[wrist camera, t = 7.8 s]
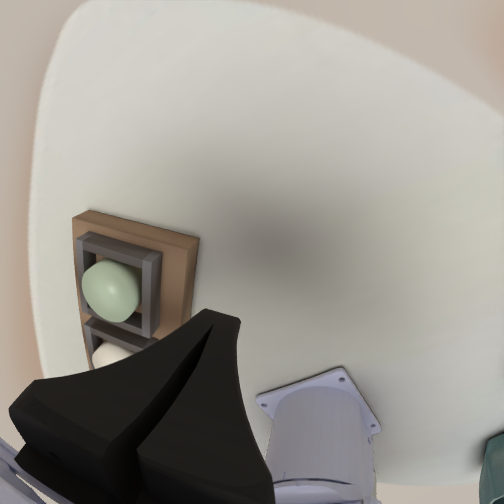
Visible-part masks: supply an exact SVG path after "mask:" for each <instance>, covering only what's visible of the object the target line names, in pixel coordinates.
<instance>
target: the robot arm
mask: <svg viewBox="0 0 504 504" xmlns="http://www.w3.org/2000/svg"><path fill="white" fill-rule="evenodd" d="M240 324H241V321H240V319H239V318H237V317H233V316H230V315H226V314H223V313H219V312H216V311H213V310H209V309H206V308H205V309H203V310H201V311H200V312H199V313H198V314H196V315H195V316H194V317H192V318H191V319H190V320H188V321H187V322H186V323H184V324H183V325H182V326H180V327H179V328H177V329H176V330H174V331H173V332H171V333H170V334H168V335H167V336H165V337H164V338H162V339H160V340H159V341H157V342H155V343H154V344H152V345H150V346H148V347H147V348H145V349H143V350H141V351H139V352H137V353H135V354H133V355H131V356H129V357H126V358H124V359H122V360H119V361H117V362H114V363H111V364H109V365H106V366H103V367H100V368H97V369H93V370H90V371H86V372H82V373H78V374H73V375H68V376H63V377H55V378H48V379H39V380H34V381H33V382H32V383H31V384H30V385H29V386H28V387H27V388H26V389H25V390H24V391H23V392H22V393H21V394H20V396H19V397H18V398H17V399H16V400H15V401H14V402H13V404H12V405H11V406H10V407H9V415H10V418H11V420H12V422H13V423H14V425H15V427H16V428H17V430H18V432H19V433H20V435H21V436H22V438H23V439H24V441H25V442H26V444H25V445H24V446H23V448H22V449H21V450H20V452H18V451H17V450H15V449H14V448H13V447H12V446H10V445H9V444H8V443H6V442H5V441H4V440H3V439H1V438H0V504H46V503H45V502H44V501H43V500H42V499H41V498H40V497H39V496H38V495H37V494H36V493H35V492H34V490H33V489H32V488H30V487H29V486H28V485H27V484H25V483H24V482H23V481H22V480H21V479H19V478H18V477H17V476H16V474H17V475H19V476H20V477H21V478H22V479H24V480H25V481H26V482H28V483H29V484H31V485H32V486H33V487H35V488H36V489H38V490H39V491H40V492H42V493H43V494H45V495H47V496H48V497H50V498H51V499H53V500H54V501H56V502H57V503H59V504H381V502H380V501H378V500H377V499H375V496H371V494H372V491H373V488H374V464H373V444H372V435H374V434H377V433H380V432H381V430H382V428H381V425H380V424H379V422H378V421H377V419H376V417H375V416H374V414H373V413H372V411H371V410H370V408H369V407H368V405H367V403H366V402H365V400H364V399H363V397H362V396H361V394H360V393H359V391H358V389H357V388H356V386H355V385H354V383H353V382H352V380H351V379H350V377H349V375H348V374H347V372H346V371H345V370H344V369H343V368H337V369H334V370H331V371H329V372H326V373H323V374H321V375H318V376H315V377H312V378H310V379H307V380H304V381H301V382H298V383H295V384H292V385H289V386H286V387H283V388H280V389H277V390H274V391H271V392H267V393H264V394H261V395H258V396H257V397H256V399H255V402H256V403H257V404H258V405H259V406H260V407H261V409H262V410H263V411H264V412H265V413H266V414H267V415H268V416H269V417H270V418H271V419H272V420H273V426H272V431H271V435H270V440H269V445H268V449H267V454H266V459H265V461H264V459H263V457H262V455H261V452H260V450H259V448H258V445H257V443H256V441H255V438H254V435H253V432H252V430H251V427H250V424H249V421H248V418H247V415H246V411H245V407H244V403H243V399H242V394H241V389H240V384H239V376H238V368H237V338H238V333H239V329H240ZM342 377H343V379H340V378H342ZM264 403H265V404H264ZM15 473H16V474H15Z"/></svg>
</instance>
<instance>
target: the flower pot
mask: <svg viewBox="0 0 504 504" xmlns="http://www.w3.org/2000/svg"><path fill="white" fill-rule="evenodd" d="M479 499H480V504H504V433H503V434H500V435H498V436H496V437H494V438H492V439H490V440H489V441H488V443H487V448H486V453H485V457H484V461H483V465H482V470H481V475H480V483H479Z"/></svg>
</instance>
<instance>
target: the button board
mask: <svg viewBox="0 0 504 504" xmlns="http://www.w3.org/2000/svg"><path fill="white" fill-rule="evenodd" d="M72 230H73V250H74V265H75V276H76V286H77V295H78V304H79V311H80V318H81V325H82V331H83V337H84V343H85V349H86V354H87V359H88V364H89V369H90V370H93V369H95V367H94V365H93V362H92V356H93V354H94V352H95V351H96V350H97V349H98V348H99V347H100V346H101V344H102V343H103V342H104V341H105V340H108V341H110V342H112V343H115V344H117V345H120V346H122V347H125V348H127V349H129V350H132V351H134V352H139V351H141V350H143V349H145V348H147V347H148V346H150V345H152V344H154V343H155V342H157V341H159V340H160V339H162V338H164V337H165V336H167V335H168V334H170V333H171V332H173V331H174V330H176V329H177V328H179V327H180V326H182V325H183V324H184V323H186V322H187V321H188V320H190V314H191V305H192V295H193V286H194V278H195V269H196V261H197V253H198V245H199V238H196V237H192V236H188V235H184V234H180V233H176V232H173V231H169V230H165V229H161V228H157V227H153V226H149V225H145V224H142V223H138V222H134V221H130V220H126V219H122V218H118V217H114V216H111V215H107V214H103V213H99V212H95V211H91V210H88V211H86V212H84V213H81V214H79V215H77V216H75V217H73V218H72ZM104 257H107V258H110V259H113V260H116V261H119V262H122V263H126V264H129V265H132V266H135V267H138V268H139V269H140V270H141V272H142V303H141V304H140V305H139V306H138V307H137V309H136V310H135V311H134V312H133V313H132V314H131V315H130V316H129V317H128V318H127V319H126V320H125V321H123V322H111V321H108V320H106V319H104V318H102V317H101V316H99V315H98V314H97V313H96V312H95V311H94V310H93V309H92V308H91V307H90V305H89V304H88V302H87V301H86V299H85V297H84V294H83V290H82V278H83V275H84V273H85V272H86V271H87V270H88V269H89V268H90V267H92V266H93V265H94V264H96V263H97V262H99V261H100V260H101V259H103V258H104Z"/></svg>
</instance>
